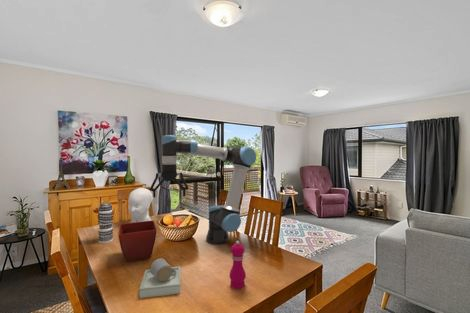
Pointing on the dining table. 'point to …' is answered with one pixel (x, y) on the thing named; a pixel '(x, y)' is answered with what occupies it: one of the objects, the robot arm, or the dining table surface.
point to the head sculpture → (140, 204)
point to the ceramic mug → (162, 270)
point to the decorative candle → (105, 223)
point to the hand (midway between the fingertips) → (169, 203)
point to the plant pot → (137, 240)
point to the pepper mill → (237, 267)
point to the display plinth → (159, 285)
